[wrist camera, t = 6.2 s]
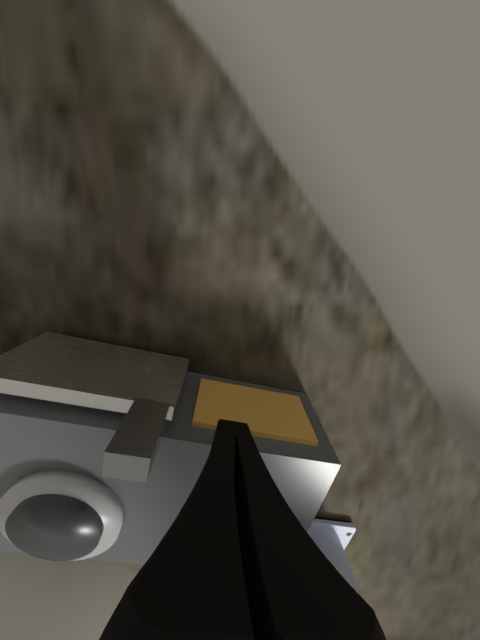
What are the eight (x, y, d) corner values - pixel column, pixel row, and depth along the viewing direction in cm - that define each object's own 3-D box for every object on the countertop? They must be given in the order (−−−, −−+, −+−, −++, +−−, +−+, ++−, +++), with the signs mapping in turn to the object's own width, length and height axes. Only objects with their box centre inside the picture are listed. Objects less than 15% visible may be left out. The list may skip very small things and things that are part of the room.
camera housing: (269, 486, 21) (288, 599, 15) (55, 457, 19) (-38, 573, 12) (307, 390, 18) (353, 479, 11) (54, 342, 16) (-71, 417, 9)
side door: (187, 371, 16) (152, 483, 9) (46, 345, 15) (-125, 447, 8) (190, 356, 16) (156, 459, 8) (46, 328, 15) (-134, 418, 7)
